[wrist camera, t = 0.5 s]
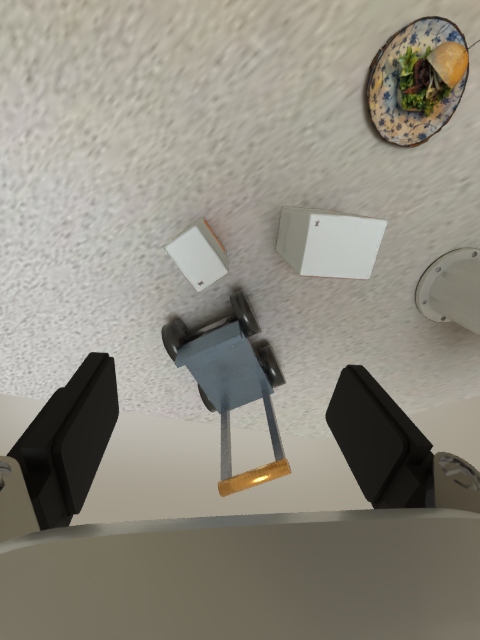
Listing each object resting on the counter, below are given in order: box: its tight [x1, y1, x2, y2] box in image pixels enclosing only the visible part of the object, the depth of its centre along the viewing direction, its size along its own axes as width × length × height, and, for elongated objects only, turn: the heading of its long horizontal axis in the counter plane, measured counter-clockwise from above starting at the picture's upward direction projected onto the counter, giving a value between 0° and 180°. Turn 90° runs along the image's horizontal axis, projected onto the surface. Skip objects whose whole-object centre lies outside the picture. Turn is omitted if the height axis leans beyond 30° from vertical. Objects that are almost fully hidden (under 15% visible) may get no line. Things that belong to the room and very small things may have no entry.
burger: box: [367, 16, 480, 148], centre depth 28 cm, size 12×12×8 cm
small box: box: [276, 207, 388, 280], centre depth 32 cm, size 8×6×13 cm
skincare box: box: [164, 217, 228, 293], centre depth 32 cm, size 6×4×12 cm
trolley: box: [162, 289, 291, 497], centre depth 36 cm, size 13×18×21 cm
